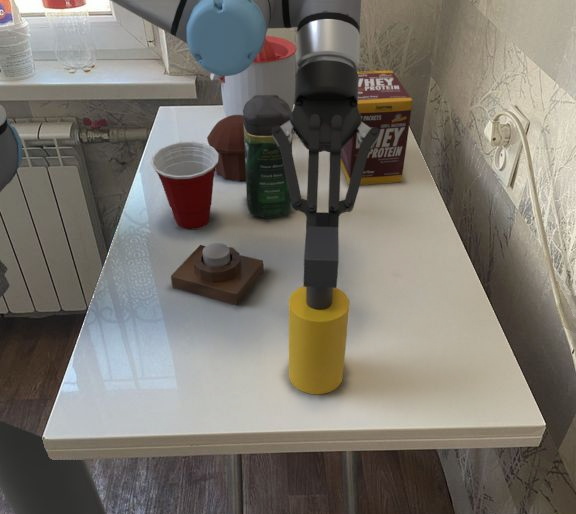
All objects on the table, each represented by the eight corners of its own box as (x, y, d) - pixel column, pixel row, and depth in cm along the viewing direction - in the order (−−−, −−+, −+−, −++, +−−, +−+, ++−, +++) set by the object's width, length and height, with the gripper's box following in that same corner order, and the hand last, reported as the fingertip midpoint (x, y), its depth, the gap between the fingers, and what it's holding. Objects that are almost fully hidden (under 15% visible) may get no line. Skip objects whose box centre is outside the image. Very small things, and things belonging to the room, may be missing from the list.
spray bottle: (290, 349, 83) (291, 222, 70) (342, 351, 83) (353, 224, 69) (287, 393, 77) (287, 264, 64) (343, 395, 77) (355, 266, 64)
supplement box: (348, 186, 116) (354, 103, 105) (333, 150, 127) (337, 71, 116) (402, 183, 116) (414, 100, 106) (383, 147, 128) (391, 68, 117)
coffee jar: (294, 218, 107) (295, 112, 94) (248, 221, 107) (243, 115, 94) (288, 191, 114) (288, 89, 101) (245, 193, 114) (240, 91, 101)
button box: (172, 287, 93) (168, 265, 90) (201, 256, 99) (199, 234, 96) (237, 306, 90) (236, 284, 87) (263, 272, 96) (263, 250, 93)
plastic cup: (152, 236, 103) (141, 169, 95) (170, 203, 111) (161, 139, 103) (216, 241, 102) (210, 174, 94) (229, 207, 110) (225, 143, 102)
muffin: (258, 187, 115) (256, 136, 108) (202, 181, 117) (196, 129, 110) (274, 159, 123) (273, 109, 117) (221, 153, 125) (217, 104, 118)
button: (198, 264, 91) (197, 254, 90) (211, 250, 94) (210, 240, 93) (222, 270, 90) (221, 261, 89) (235, 256, 93) (234, 246, 92)
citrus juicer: (211, 119, 137) (203, 21, 124) (288, 114, 140) (288, 17, 126) (218, 150, 126) (210, 46, 112) (302, 144, 129) (303, 41, 115)
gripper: (378, 87, 77) (372, 275, 77) (274, 85, 78) (268, 272, 77) (386, 57, 70) (379, 266, 69) (270, 55, 70) (263, 263, 70)
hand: (320, 269), depth 73 cm, fingers closed
